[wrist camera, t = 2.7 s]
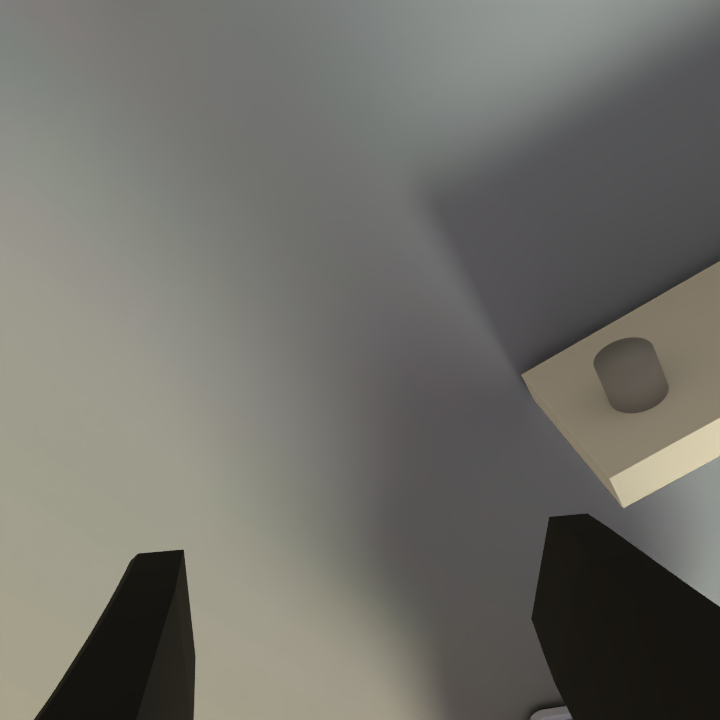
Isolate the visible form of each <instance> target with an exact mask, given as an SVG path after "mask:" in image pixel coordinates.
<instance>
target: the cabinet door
mask: <svg viewBox="0 0 720 720" xmlns="http://www.w3.org/2000/svg"><path fill="white" fill-rule="evenodd" d="M521 375H522V377H523V379H524V381H525V383H526V385H527V387H528V389H529V391H530V393H531V395H532V397H533V399H534V401H535V402H536V403H537V404H538V405H539V407H540V408H541V409H542V410H543V411H544V413H545V414H546V415H547V416H548V418H549V419H550V420H551V421H552V422H553V424H554V425H555V426H556V427H557V428H558V430H559V431H560V432H561V433H562V434H563V436H564V437H565V438H566V439H567V441H568V442H569V443H570V444H571V445H572V447H573V448H574V449H575V450H576V451H577V453H578V454H579V455H580V456H581V458H582V459H583V460H584V461H585V462H586V464H587V465H588V466H589V467H590V468H591V470H592V471H593V472H594V473H595V474H596V476H597V477H598V478H599V479H600V481H601V482H602V483H603V484H604V485H605V487H606V488H607V489H608V490H609V491H610V493H611V494H612V495H613V496H614V497H615V499H616V500H617V501H618V502H619V504H620V505H621V506H622V507H623V508H625V507H627V506H629V505H630V504H632V503H634V502H636V501H638V500H640V499H641V498H643V497H645V496H647V495H649V494H651V493H652V492H654V491H656V490H658V489H660V488H662V487H663V486H665V485H667V484H669V483H671V482H673V481H674V480H676V479H678V478H680V477H682V476H684V475H685V474H687V473H689V472H691V471H693V470H695V469H696V468H698V467H700V466H702V465H704V464H706V463H707V462H709V461H711V460H713V459H715V458H717V457H718V456H720V261H719V262H717V263H716V264H714V265H712V266H710V267H709V268H707V269H705V270H703V271H702V272H700V273H698V274H696V275H695V276H693V277H691V278H689V279H688V280H686V281H684V282H682V283H681V284H679V285H677V286H675V287H674V288H672V289H670V290H668V291H667V292H665V293H663V294H661V295H660V296H658V297H656V298H654V299H653V300H651V301H649V302H647V303H646V304H644V305H642V306H640V307H639V308H637V309H635V310H633V311H632V312H630V313H628V314H626V315H625V316H623V317H621V318H619V319H618V320H616V321H614V322H612V323H611V324H609V325H607V326H605V327H604V328H602V329H600V330H598V331H597V332H595V333H593V334H591V335H590V336H588V337H586V338H584V339H583V340H581V341H579V342H577V343H576V344H574V345H572V346H570V347H569V348H567V349H565V350H563V351H562V352H560V353H558V354H556V355H555V356H553V357H551V358H549V359H548V360H546V361H544V362H542V363H541V364H539V365H537V366H535V367H534V368H532V369H530V370H528V371H527V372H525V373H523V374H521Z"/></svg>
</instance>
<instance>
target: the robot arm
mask: <svg viewBox="0 0 720 720" xmlns="http://www.w3.org/2000/svg"><path fill="white" fill-rule="evenodd" d="M532 622H533V624H534V627H535V630H536V633H537V636H538V639H539V641H540V644H541V647H542V650H543V653H544V656H545V658H546V661H547V663H548V666H549V669H550V671H551V674H552V676H553V679H554V682H555V684H556V686H557V688H558V690H559V692H560V694H561V697H562V699H563V701H564V703H565V705H566V706H563V707H556V708H549V709H543V710H539V711H537V712H535V713H534V714H533V715H532V716H531V719H530V720H720V607H719V606H718V605H716V604H715V603H713V602H712V601H710V600H709V599H708V598H706V597H705V596H703V595H702V594H700V593H699V592H698V591H696V590H695V589H693V588H692V587H690V586H689V585H688V584H686V583H685V582H683V581H682V580H681V579H679V578H678V577H676V576H675V575H674V574H672V573H671V572H669V571H668V570H667V569H665V568H664V567H662V566H661V565H660V564H658V563H657V562H656V561H654V560H653V559H651V558H650V557H649V556H647V555H646V554H644V553H643V552H642V551H640V550H639V549H638V548H636V547H635V546H633V545H632V544H631V543H629V542H628V541H626V540H625V539H624V538H622V537H621V536H619V535H618V534H617V533H615V532H614V531H612V530H611V529H610V528H608V527H607V526H605V525H604V524H602V523H601V522H599V521H598V520H596V519H595V518H593V517H592V516H590V515H589V514H577V515H566V516H555V517H549V522H548V528H547V533H546V539H545V545H544V550H543V556H542V562H541V567H540V573H539V579H538V585H537V590H536V596H535V602H534V607H533V613H532ZM194 688H195V649H194V640H193V631H192V621H191V612H190V603H189V594H188V585H187V576H186V567H185V558H184V550H174V551H163V552H152V553H140V554H137V555H136V556H135V557H134V558H133V559H132V560H131V561H130V563H129V565H128V567H127V569H126V571H125V573H124V575H123V577H122V579H121V581H120V583H119V585H118V586H117V588H116V590H115V592H114V594H113V596H112V598H111V599H110V601H109V603H108V605H107V606H106V608H105V610H104V612H103V613H102V615H101V617H100V618H99V620H98V622H97V624H96V625H95V627H94V629H93V630H92V632H91V634H90V635H89V637H88V639H87V640H86V642H85V643H84V645H83V646H82V648H81V650H80V651H79V653H78V654H77V656H76V658H75V659H74V661H73V662H72V664H71V665H70V667H69V669H68V670H67V672H66V673H65V675H64V676H63V678H62V680H61V681H60V683H59V684H58V686H57V687H56V689H55V690H54V692H53V693H52V695H51V696H50V698H49V699H48V701H47V702H46V703H45V705H44V706H43V708H42V709H41V711H40V712H39V713H38V715H37V716H36V718H35V719H34V720H193V718H194Z"/></svg>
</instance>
